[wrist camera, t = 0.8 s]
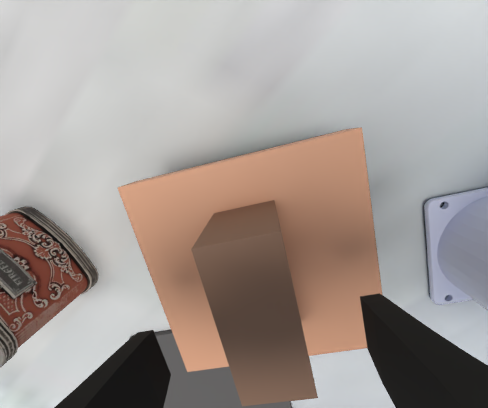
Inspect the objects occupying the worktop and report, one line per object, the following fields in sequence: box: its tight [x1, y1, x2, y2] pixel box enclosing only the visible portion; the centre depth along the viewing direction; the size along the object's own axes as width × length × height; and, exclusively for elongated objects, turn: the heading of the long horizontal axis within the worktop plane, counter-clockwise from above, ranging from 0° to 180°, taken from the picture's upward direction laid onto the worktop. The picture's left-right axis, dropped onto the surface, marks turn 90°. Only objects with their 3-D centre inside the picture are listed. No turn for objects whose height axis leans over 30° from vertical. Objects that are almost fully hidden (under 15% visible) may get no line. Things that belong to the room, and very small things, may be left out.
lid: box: [118, 128, 382, 406], centre depth 12 cm, size 12×12×6 cm
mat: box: [130, 330, 292, 408], centre depth 21 cm, size 12×12×1 cm
